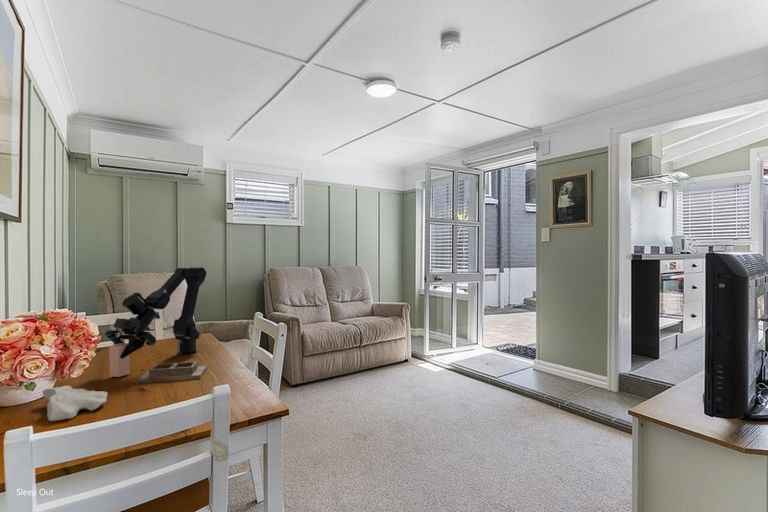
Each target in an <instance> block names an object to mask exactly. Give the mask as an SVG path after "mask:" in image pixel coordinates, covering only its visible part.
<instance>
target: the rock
mask: <svg viewBox="0 0 768 512" xmlns="http://www.w3.org/2000/svg"><path fill="white" fill-rule="evenodd" d="M42 395H43V397H45V398H46V399H47V400H48V403H47V405H46V409H47V413H46V416H47V419H48V421H49V422H57V421H61V420H66V419H74V418H75V417H76V416H77V415H78V413H79V411H80V410H89V411H91V412H92V411H95V410H96V409H98V408H99V407H100V406H102V405H103V404H104V403H106V402H107V397H108V395H109V393H108V391H104V390H102V391H96V390H86V389H85V388H73V387H72V386H71V385H63V386H60V387H52V388H46V389H44V390H42Z"/></svg>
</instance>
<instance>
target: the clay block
mask: <svg viewBox="0 0 768 512" xmlns="http://www.w3.org/2000/svg"><path fill="white" fill-rule="evenodd" d="M128 343H129V342H128ZM128 343H127V342H124V343H119V344H115V345H114V344H113V345H109V377H115V378H116V377H117V378H121V377H122V376H126V375H129V374H130V373H131V371H130V370H131V367H130V366H131V364H130V363H131V362H130V361H131V360H130V358H131V357H130V356H131V354H129V355H128V356H126V357H124V358H123V359H121V358H120V356H121V354H122V352H123V351H124V349H125V348H126V346H127V345H128Z"/></svg>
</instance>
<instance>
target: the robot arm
mask: <svg viewBox="0 0 768 512" xmlns="http://www.w3.org/2000/svg"><path fill="white" fill-rule="evenodd" d="M206 276H207V271H206V269H205V268H204V267H202V266H201V267H199V266H198V267H196V266H192V267H191V266H190V267H178V268H175V272H173V273H172V274H171V276H170V277H169V278H168V279H167V280H166V281H165V283H164V284H162V286H161V287H160V288H159V289H157V290H155V291H153V292H151V293H150V294H149V295H148V296H146V297H145V298H144V297H143V296H142V294H141V293H140V292H134V293H133V294H131V295H129V296H127V297H126V298H124V300H122V303H121V305H122V306H124V308H125V309H126V310H127V311H128V312H130V313H131V314H132V315H133V316H134V315H135V317H130V318H116V319H115V321H114V325H113V328H118V329H108V330H106V332H105V334H104V336H105V337H106V338H107V339H108V340H110V341H111V342H112V343H113V345H115V344H119V343H126V340H127V341H128V345H127V346H126V348H125V349H124V351H123V352H122V354H121V356H120V358H121V359H123V358H124V357H126V356H128V355H129V354H130V355H131V354H132V353H134V352H137V350H140V349H141V348H144V347H145V344H146V345H147V346H151V347H153V346H154V345H155V344H156V342H157V338H156V336H155V335H153V334H152V333H151V332H149V331H150V329H151V327H149V326H150V325H151V323H152V322H153V321H154V319H156V320H159V319H160V318H161V316H160V312H159V311H155V310H164V309H166V307H167V306H168V304H169V303H170V301H171V297H172V294H173V293H174V292H175V291H176V290H177V288H178V287H179V286H180V285H181V284H182V282H183V281H184V280H185V282H186V290H185V295H184V300H183V305H182V310H181V314H180V316H179V318H178V319H174V321H173V327H172V333H173V335H174V338H175V340H178V342H177V352H178V353H177V352H176V353H177V354H180V355H182V354H185V355H188V354H187V353H190V354H193V353H192V352H195V353H197V352H196V351H198V350H197V340H198V339H200V332H199V331H198V330H197V329H196V322H195V319H194V314H195V309H196V305H197V300H198V295H199V289H200V287H201V285H202V284H203V283H204V282H205V279H206ZM119 329H121V330H119Z"/></svg>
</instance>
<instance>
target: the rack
mask: <svg viewBox="0 0 768 512" xmlns="http://www.w3.org/2000/svg"><path fill="white" fill-rule="evenodd" d="M207 369H208V366H207V365H199V366H198V361H197V360H196V361H185V362H169V363H168V362H166V363H155V364H154V365H153V366H152V367H151V368H150V369H148V370H147V371H146V372H145V373H143V375H141V376H140V377H138V379H136V384H148V383H160V382H161V383H162V382H163V383H164V382H173V381H174V382H175V381H186V380H199V379H201V378H202V377H203V375H204V374H205V372H206V371H207ZM205 370H206V371H205Z"/></svg>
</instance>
